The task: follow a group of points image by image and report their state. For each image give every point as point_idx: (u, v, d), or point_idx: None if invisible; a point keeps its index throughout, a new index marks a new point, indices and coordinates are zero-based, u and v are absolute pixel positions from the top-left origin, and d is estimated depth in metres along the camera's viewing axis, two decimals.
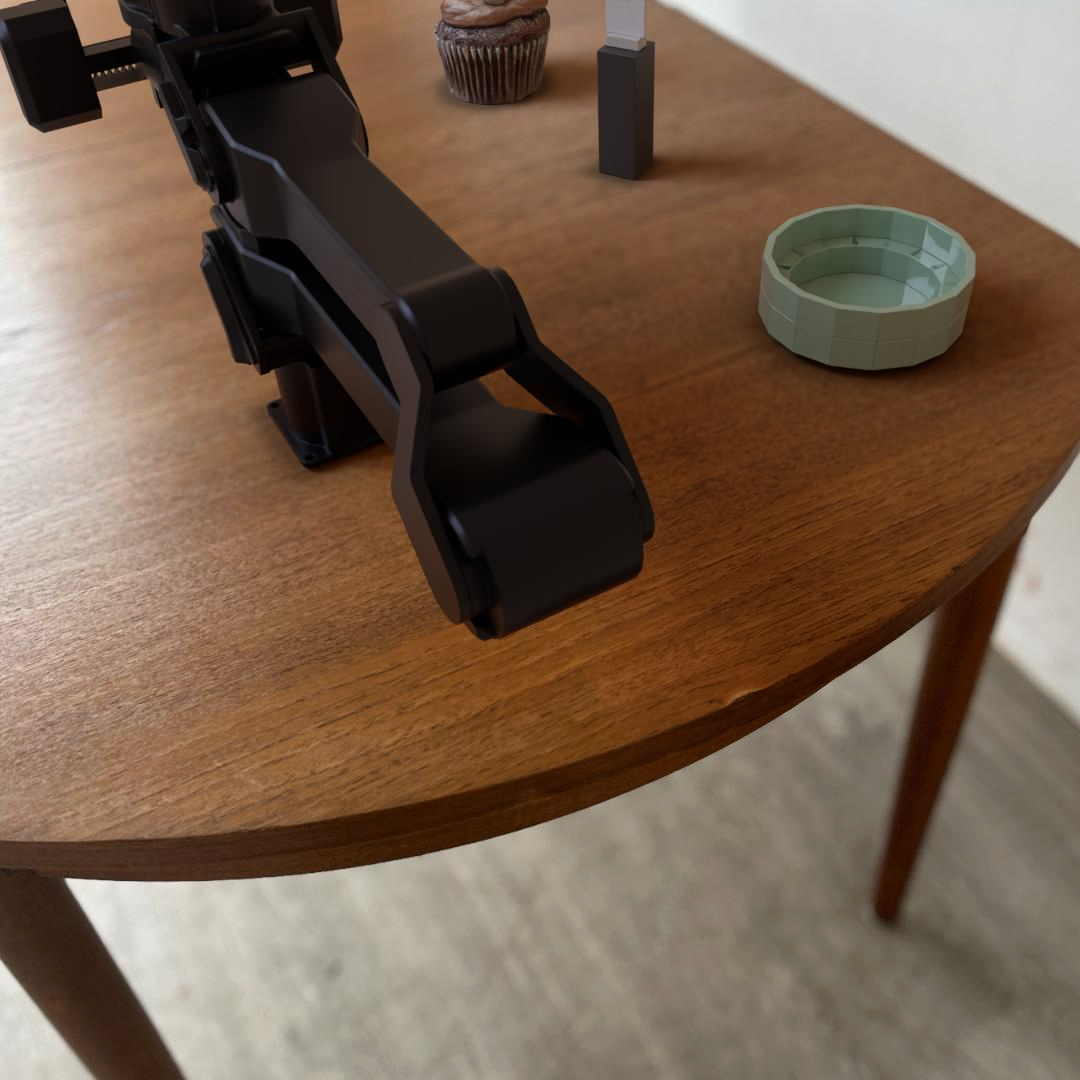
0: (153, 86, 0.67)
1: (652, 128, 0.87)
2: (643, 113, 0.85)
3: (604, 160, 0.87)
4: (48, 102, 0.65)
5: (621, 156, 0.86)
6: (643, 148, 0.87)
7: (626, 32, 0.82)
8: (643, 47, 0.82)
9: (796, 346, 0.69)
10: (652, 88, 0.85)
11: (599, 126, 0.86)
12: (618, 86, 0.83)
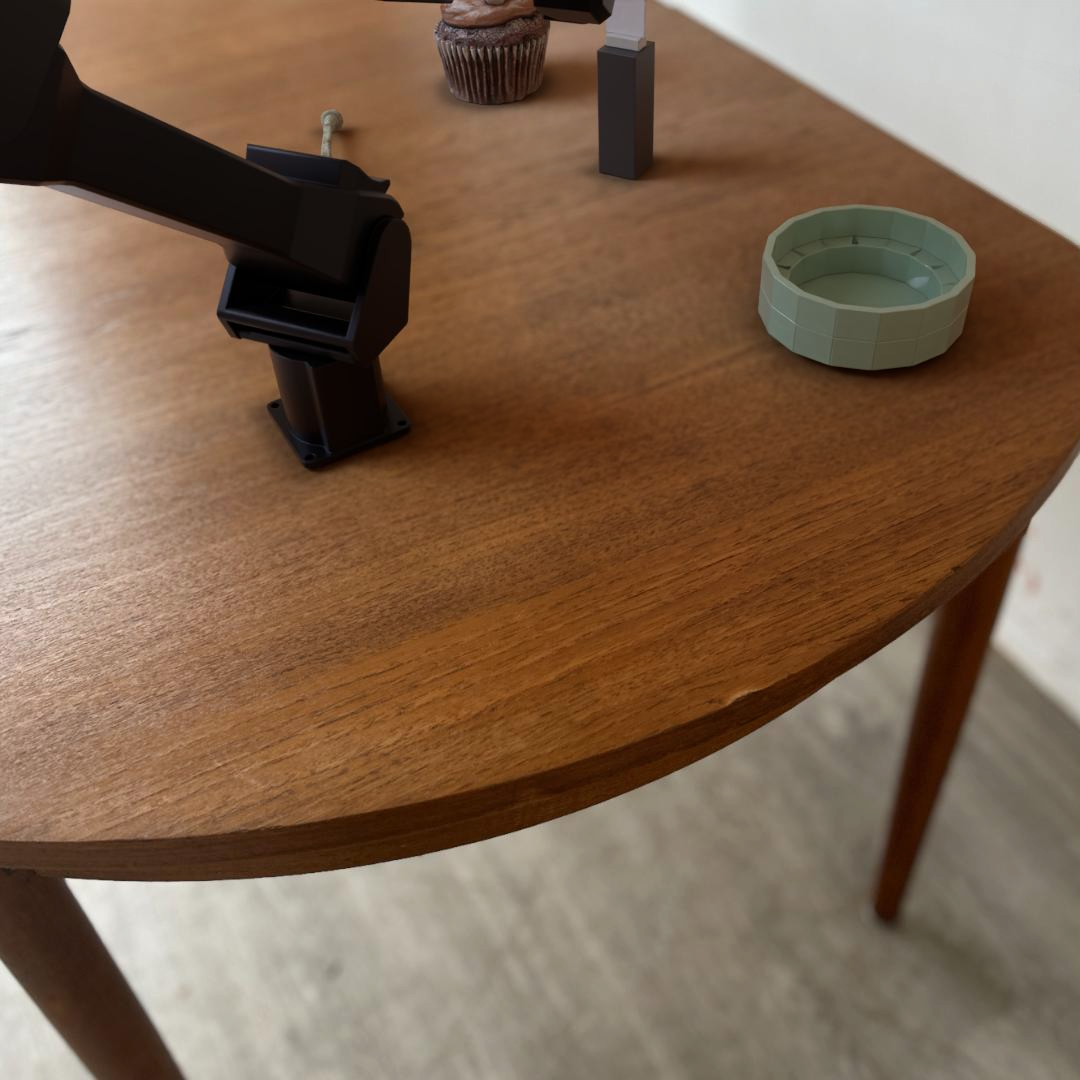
0: None
1: (652, 128, 0.87)
2: (643, 113, 0.85)
3: (604, 160, 0.87)
4: None
5: (621, 156, 0.86)
6: (643, 148, 0.87)
7: (626, 32, 0.82)
8: (643, 47, 0.82)
9: (796, 346, 0.69)
10: (652, 88, 0.85)
11: (599, 126, 0.86)
12: (618, 86, 0.83)
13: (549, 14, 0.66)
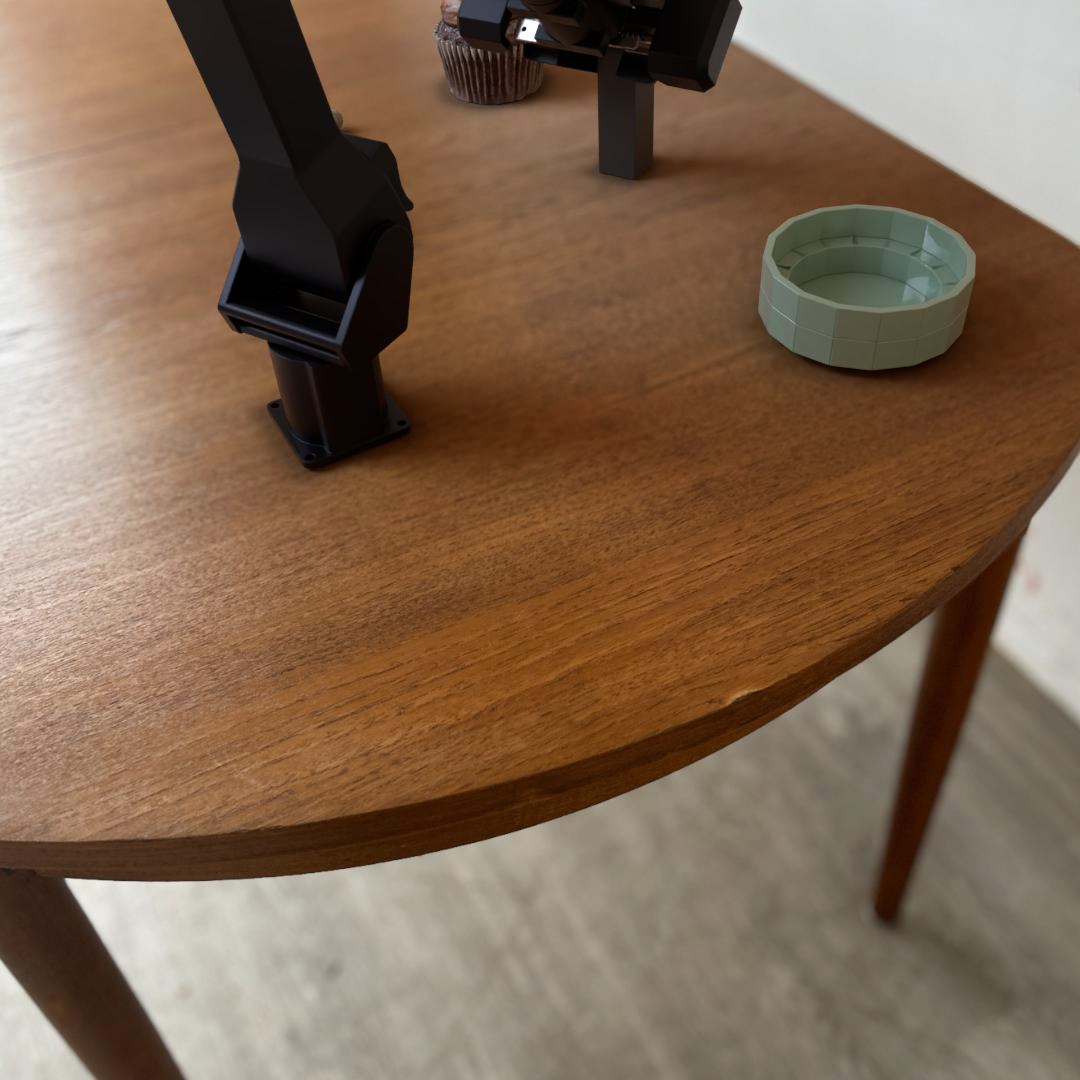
0: None
1: (652, 128, 0.87)
2: (643, 113, 0.85)
3: (604, 160, 0.87)
4: (471, 3, 0.79)
5: (621, 156, 0.86)
6: (644, 148, 0.87)
7: None
8: None
9: (796, 346, 0.69)
10: (652, 88, 0.85)
11: (599, 126, 0.86)
12: (618, 86, 0.83)
13: (660, 80, 0.75)
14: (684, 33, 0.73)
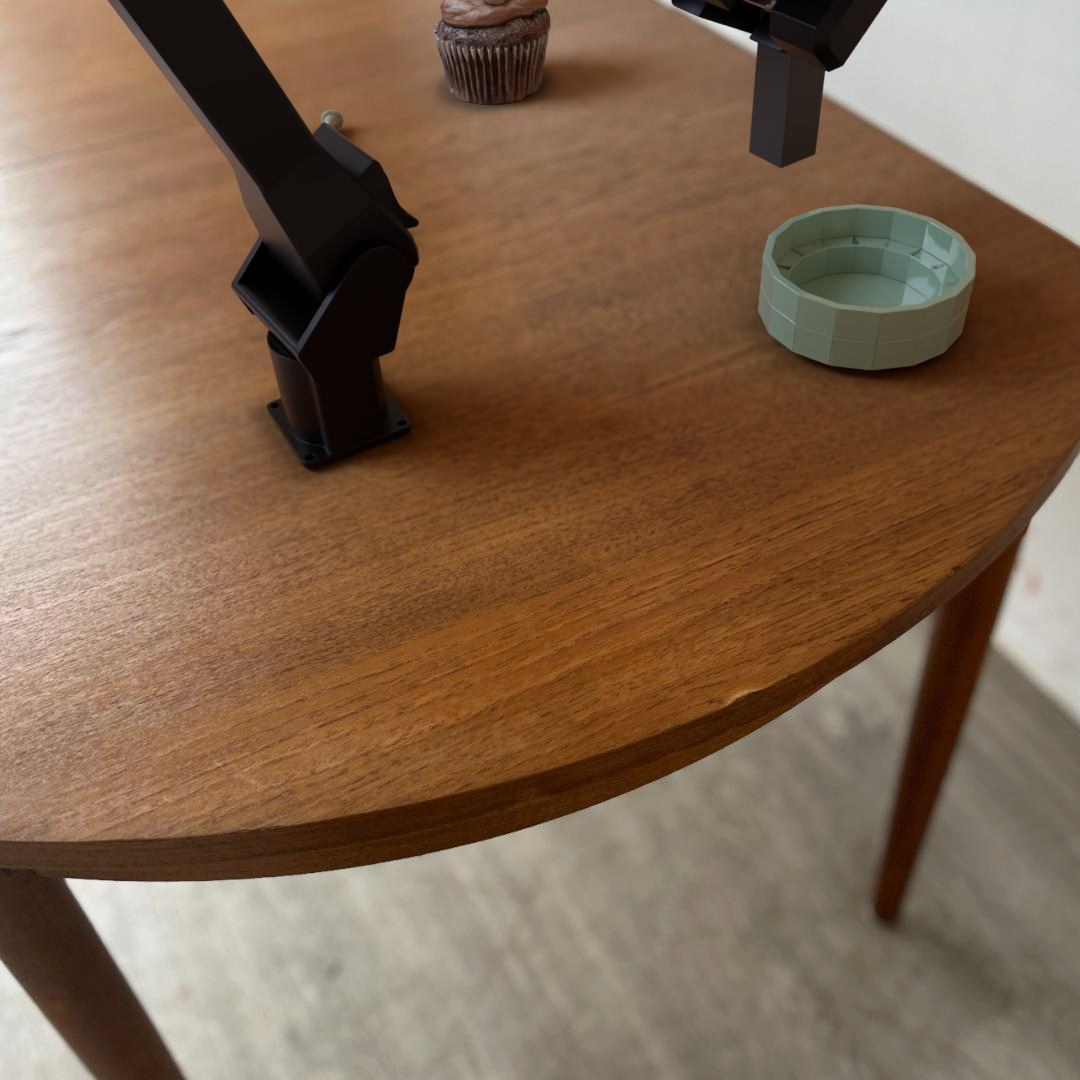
0: None
1: (818, 113, 0.74)
2: (803, 92, 0.72)
3: (755, 139, 0.76)
4: None
5: (770, 137, 0.74)
6: (800, 134, 0.74)
7: None
8: None
9: (796, 346, 0.69)
10: None
11: (754, 98, 0.74)
12: (775, 55, 0.71)
13: (785, 48, 0.63)
14: None
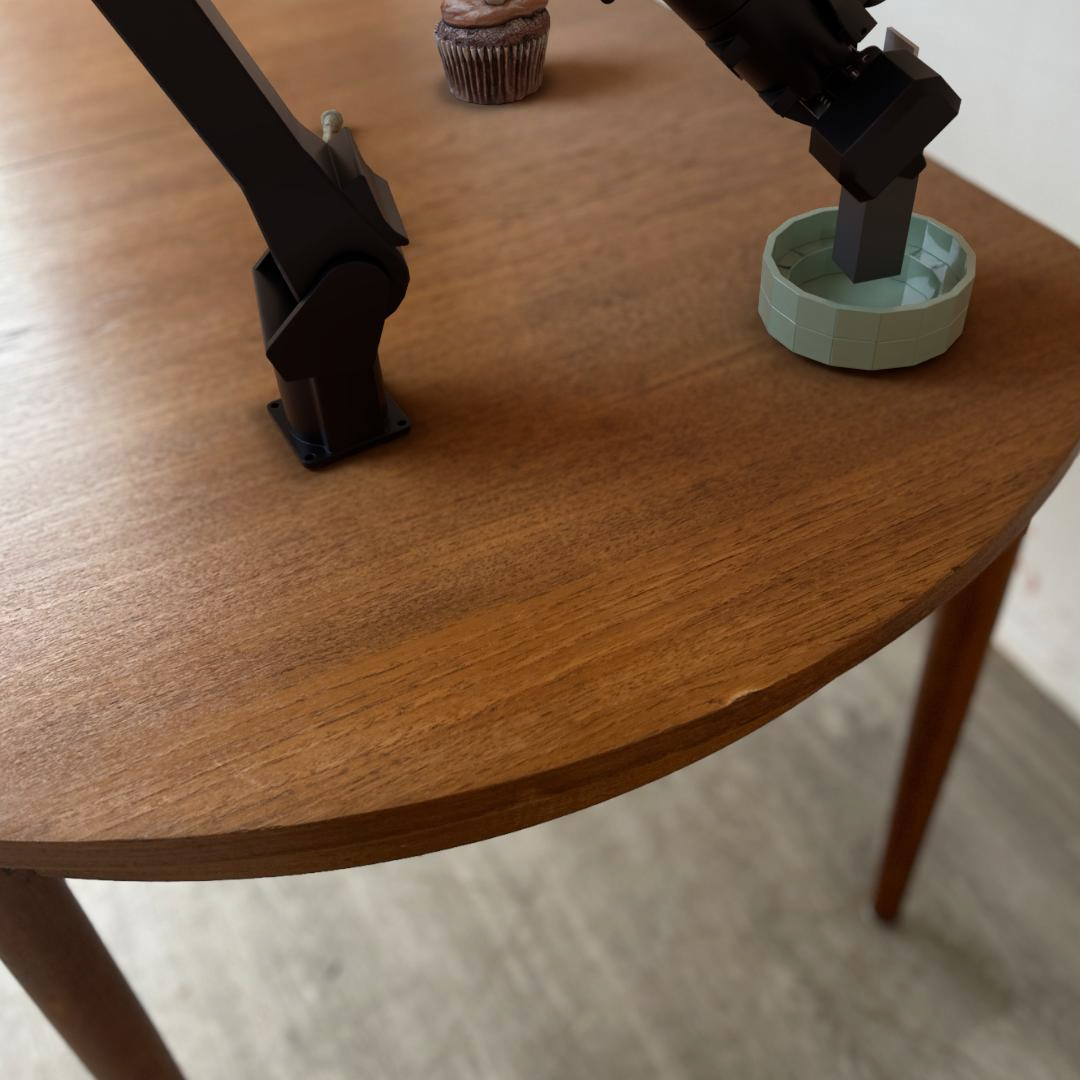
0: None
1: (905, 232, 0.68)
2: (886, 209, 0.66)
3: (836, 247, 0.70)
4: None
5: (848, 249, 0.69)
6: (881, 251, 0.68)
7: None
8: None
9: (796, 346, 0.69)
10: (913, 183, 0.65)
11: (839, 205, 0.69)
12: None
13: None
14: (851, 119, 0.55)
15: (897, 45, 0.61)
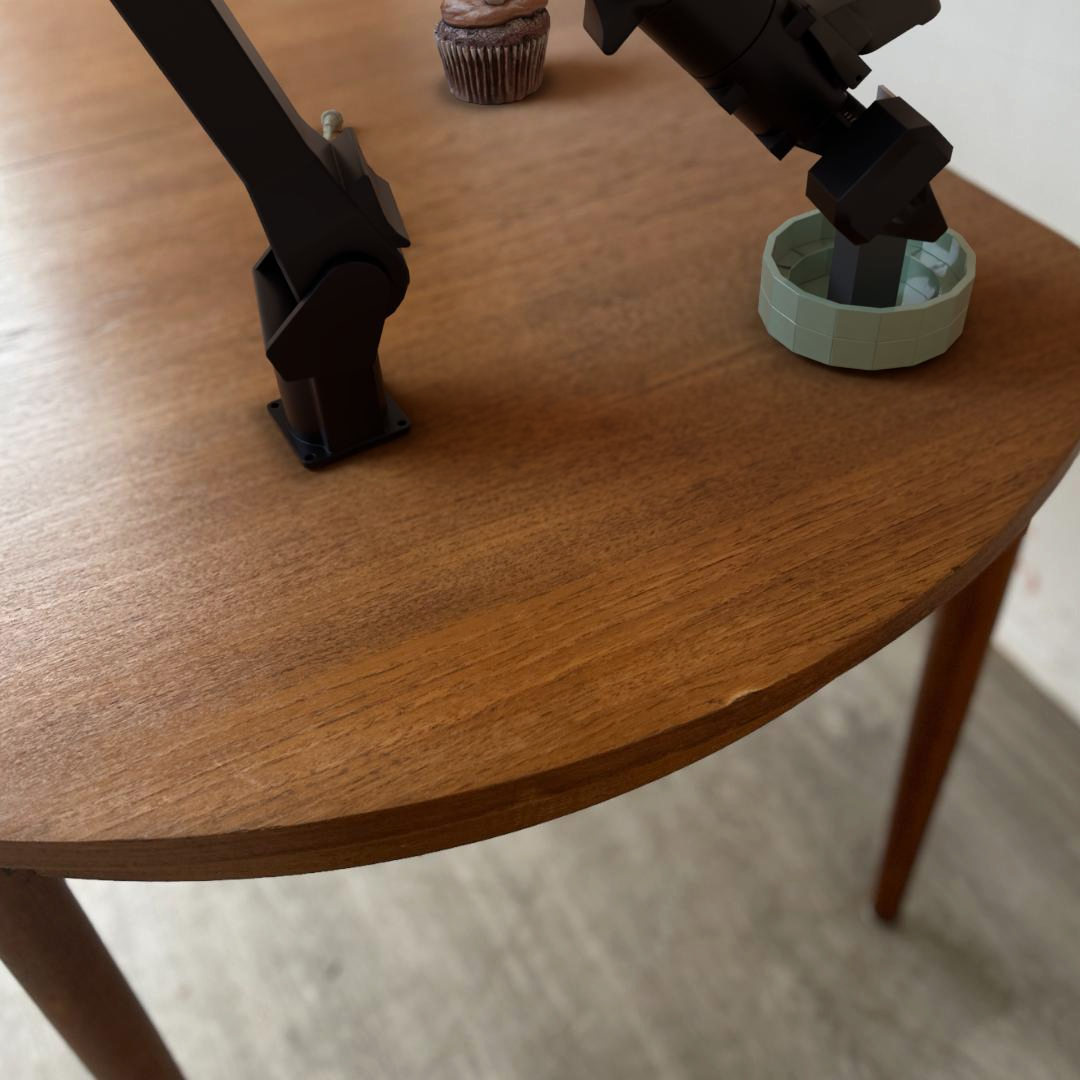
0: None
1: (897, 280, 0.70)
2: (878, 258, 0.68)
3: (831, 292, 0.72)
4: None
5: (842, 295, 0.71)
6: (873, 298, 0.70)
7: None
8: None
9: (796, 346, 0.69)
10: None
11: (833, 252, 0.71)
12: None
13: None
14: (847, 166, 0.57)
15: None
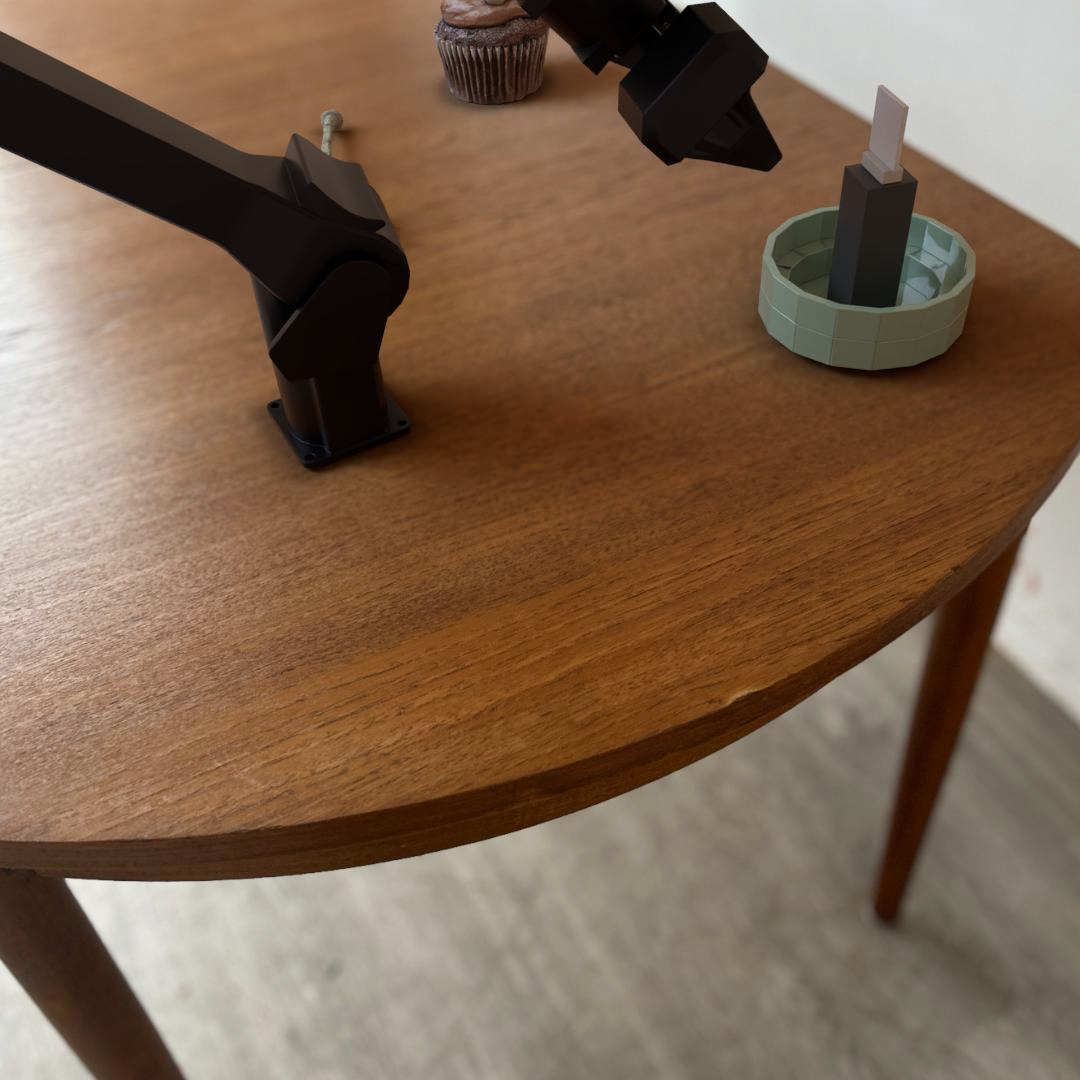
0: None
1: (897, 280, 0.70)
2: (878, 258, 0.68)
3: (831, 292, 0.72)
4: None
5: (842, 295, 0.71)
6: (873, 298, 0.70)
7: (882, 157, 0.65)
8: (894, 182, 0.65)
9: (796, 346, 0.69)
10: (905, 234, 0.68)
11: (833, 252, 0.71)
12: (852, 216, 0.67)
13: None
14: (655, 76, 0.52)
15: (888, 103, 0.64)
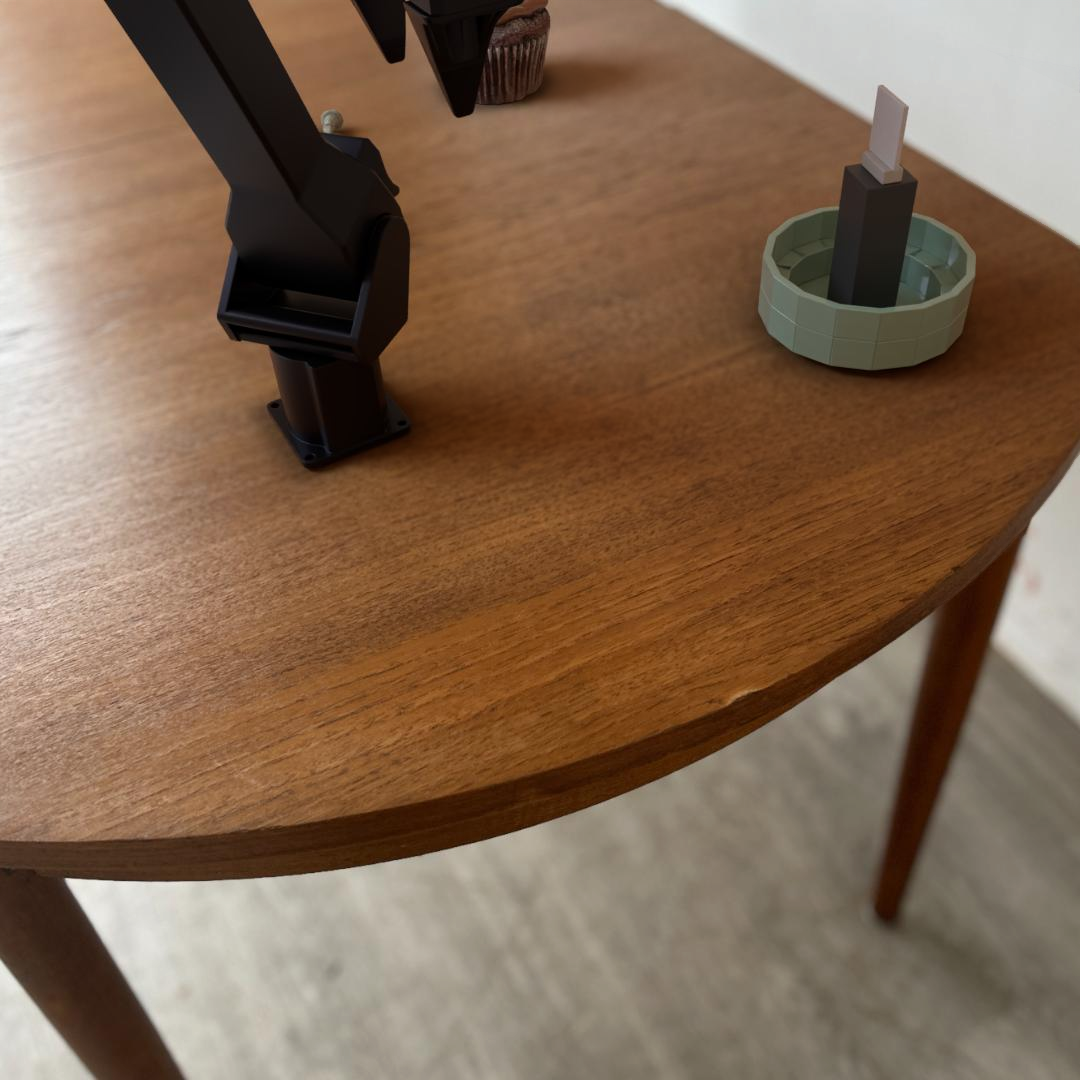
0: None
1: (897, 280, 0.70)
2: (878, 258, 0.68)
3: (831, 292, 0.72)
4: None
5: (842, 295, 0.71)
6: (873, 298, 0.70)
7: (882, 157, 0.65)
8: (894, 182, 0.65)
9: (796, 346, 0.69)
10: (905, 234, 0.68)
11: (833, 252, 0.71)
12: (852, 216, 0.67)
13: None
14: None
15: (888, 103, 0.64)
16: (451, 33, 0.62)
